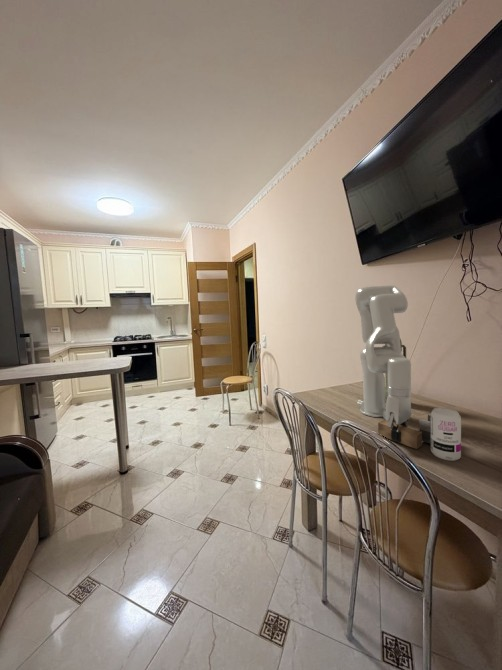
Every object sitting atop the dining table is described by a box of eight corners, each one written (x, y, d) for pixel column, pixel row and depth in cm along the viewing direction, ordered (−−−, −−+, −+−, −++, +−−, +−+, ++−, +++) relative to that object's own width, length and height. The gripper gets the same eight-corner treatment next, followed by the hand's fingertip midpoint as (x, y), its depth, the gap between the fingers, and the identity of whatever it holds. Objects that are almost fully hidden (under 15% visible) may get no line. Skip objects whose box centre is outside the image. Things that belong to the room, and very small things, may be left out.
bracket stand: (382, 429, 111) (382, 409, 110) (392, 424, 115) (392, 405, 114) (434, 447, 95) (434, 423, 94) (444, 440, 99) (444, 417, 99)
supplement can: (447, 448, 94) (447, 406, 93) (467, 460, 86) (467, 415, 85) (425, 449, 94) (424, 407, 92) (442, 462, 85) (442, 417, 84)
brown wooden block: (378, 434, 105) (378, 422, 105) (383, 431, 107) (383, 419, 107) (416, 449, 94) (416, 435, 93) (421, 445, 96) (422, 431, 95)
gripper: (400, 384, 106) (400, 428, 108) (376, 394, 97) (377, 442, 99) (420, 388, 100) (420, 435, 102) (397, 399, 91) (398, 450, 93)
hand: (399, 438), depth 101 cm, fingers closed on brown wooden block, 4 cm apart
